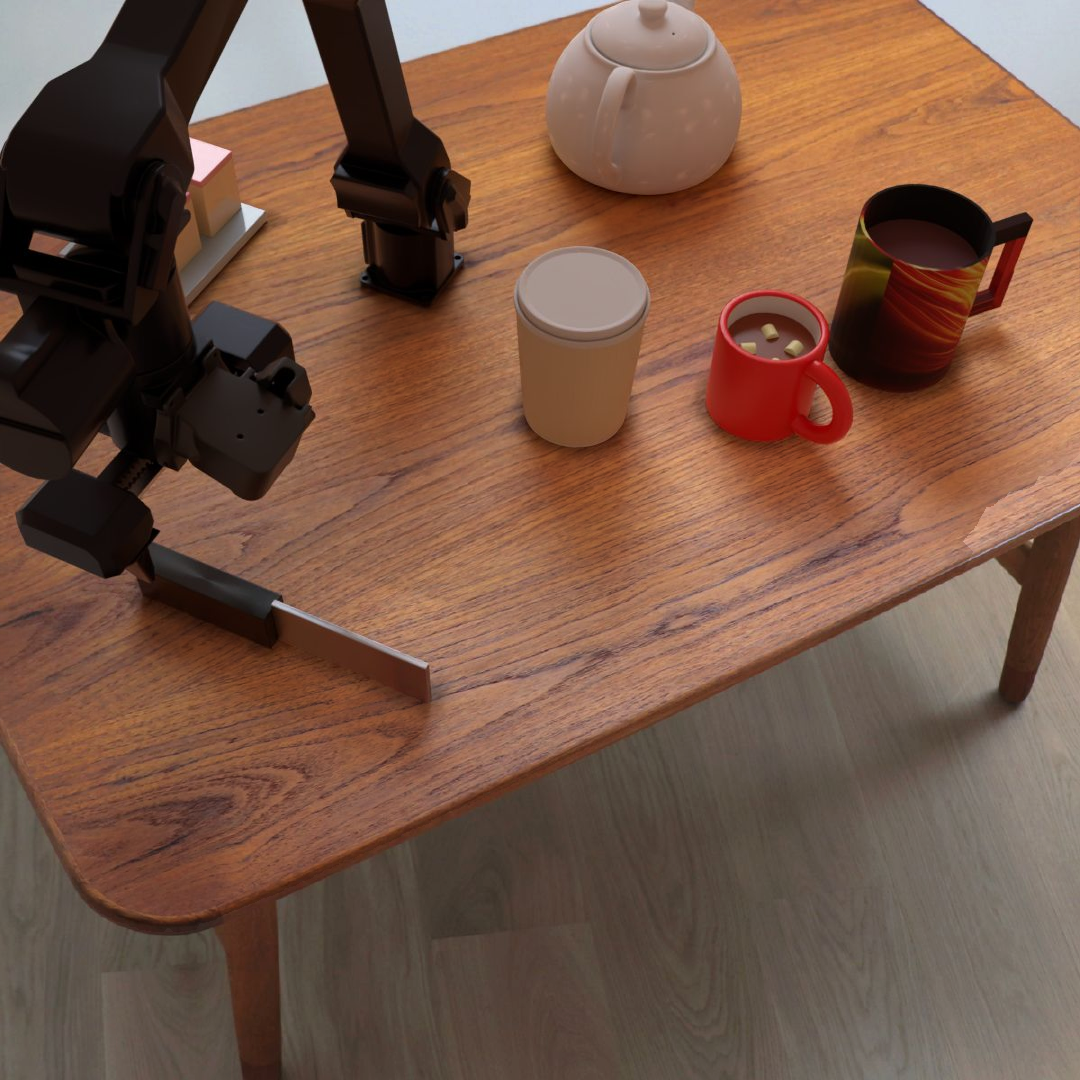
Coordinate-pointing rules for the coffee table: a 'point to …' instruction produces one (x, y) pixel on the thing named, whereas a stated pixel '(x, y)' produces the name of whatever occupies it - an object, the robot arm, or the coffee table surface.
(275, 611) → the knife
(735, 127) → the teapot
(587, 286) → the coffee cup
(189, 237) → the cake slice
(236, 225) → the cake plate
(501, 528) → the coffee table surface
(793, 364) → the mug
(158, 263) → the robot arm
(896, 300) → the mug
